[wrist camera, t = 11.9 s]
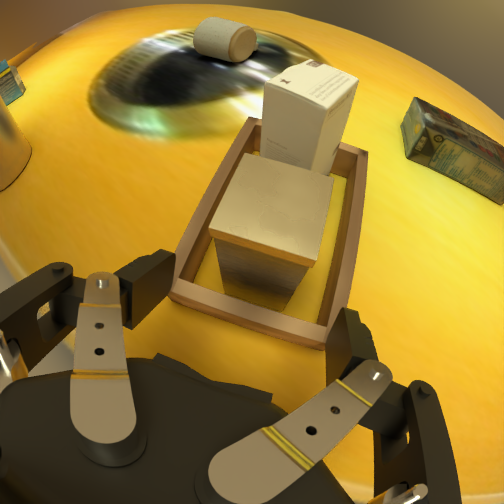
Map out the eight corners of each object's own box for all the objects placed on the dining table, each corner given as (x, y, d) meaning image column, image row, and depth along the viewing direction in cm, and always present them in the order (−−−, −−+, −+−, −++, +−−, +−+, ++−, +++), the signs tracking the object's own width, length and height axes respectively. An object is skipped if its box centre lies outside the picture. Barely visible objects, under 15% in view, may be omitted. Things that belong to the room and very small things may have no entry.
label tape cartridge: (26, 88, 39) (10, 53, 28) (22, 95, 37) (5, 58, 26) (1, 105, 37) (-16, 72, 26) (-3, 113, 36) (-21, 79, 24)
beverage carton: (397, 124, 32) (414, 89, 26) (489, 171, 30) (509, 147, 24) (403, 159, 28) (426, 121, 22) (501, 209, 27) (526, 184, 21)
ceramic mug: (231, 70, 35) (231, 27, 28) (193, 60, 37) (190, 22, 30) (268, 52, 39) (272, 16, 32) (232, 43, 41) (233, 10, 34)
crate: (171, 300, 20) (158, 286, 17) (247, 141, 28) (248, 116, 24) (322, 350, 19) (337, 346, 16) (357, 174, 26) (368, 151, 23)
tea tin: (223, 294, 21) (208, 227, 12) (243, 241, 23) (244, 152, 13) (282, 313, 20) (316, 260, 11) (298, 258, 22) (334, 178, 13)
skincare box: (295, 227, 23) (331, 112, 12) (252, 201, 24) (260, 82, 13) (327, 184, 26) (365, 79, 15) (288, 162, 27) (308, 55, 16)
